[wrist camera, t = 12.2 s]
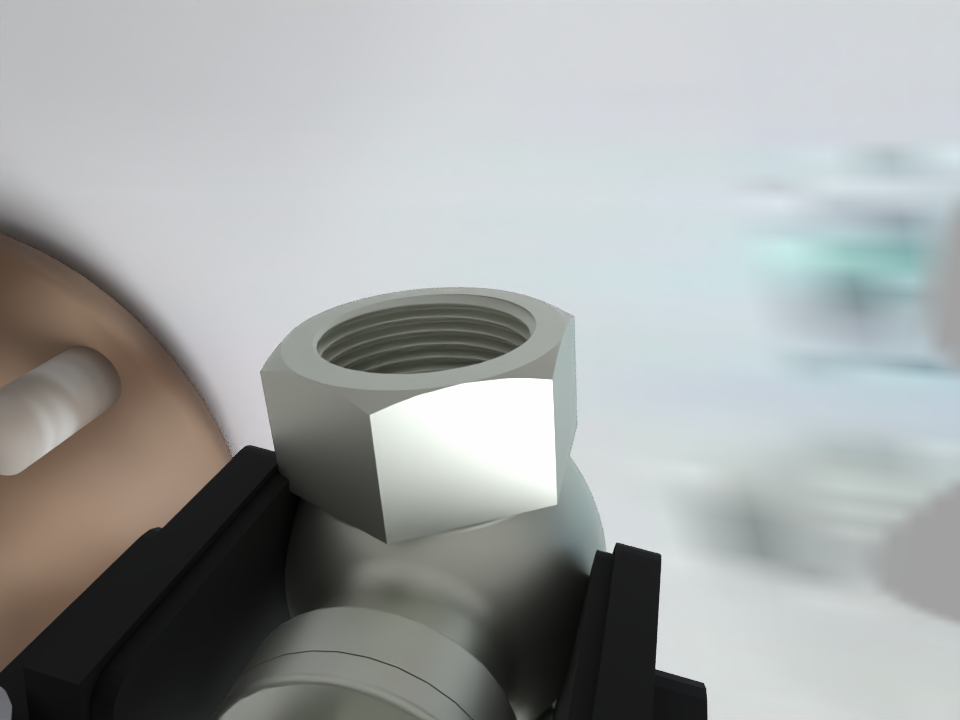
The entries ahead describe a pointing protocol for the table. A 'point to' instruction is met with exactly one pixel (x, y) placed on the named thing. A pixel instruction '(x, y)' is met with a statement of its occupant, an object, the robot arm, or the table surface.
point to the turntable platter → (83, 438)
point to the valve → (426, 512)
